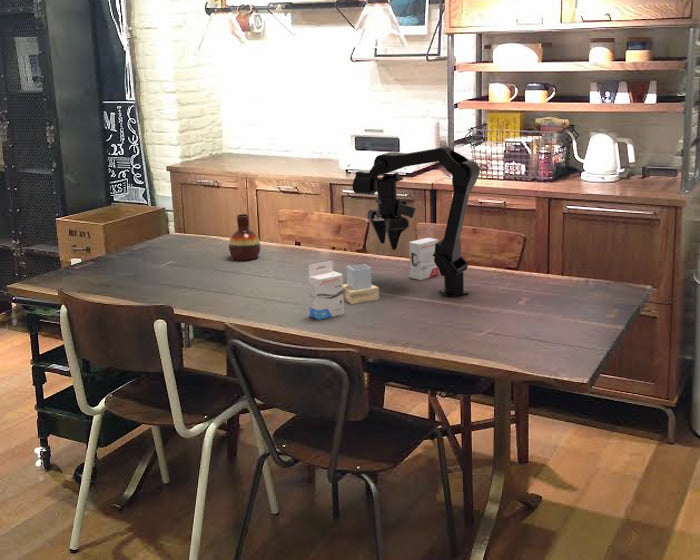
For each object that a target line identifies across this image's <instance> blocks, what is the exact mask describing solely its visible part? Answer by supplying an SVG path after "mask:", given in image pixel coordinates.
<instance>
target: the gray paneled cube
mask: <svg viewBox="0 0 700 560" xmlns="http://www.w3.org/2000/svg"><path fill="white" fill-rule="evenodd" d="M346 281H347V283H346V284H347V286H349V287H350V288H351V289H353V290H359V289H367V288H371V284H372V268H371V267H370V266H369V265H367V264H365V263H359V264H350V265H346Z"/></svg>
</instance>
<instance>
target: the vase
mask: <svg viewBox="0 0 700 560" xmlns="http://www.w3.org/2000/svg"><path fill="white" fill-rule="evenodd" d="M236 221H237V222H236V223H237V230H236V231H235V232H233V233H232V235H231V236H230V238H229V240H228V251H229V253H230V255H231V257H232V258H233V259H234V260H235V259H236V260H235V261H238V260H248V261H251V260H250V259H253V260H255V259H257V258H258V256H259V255H260V251H261V242H260V238H259V236H258V234H257V233H255V232H254V231H253V230H251V229H250V228H249V227H250V226H249V214H247V213H246V214H236ZM256 257H257V258H256ZM254 258H255V259H254Z"/></svg>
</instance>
